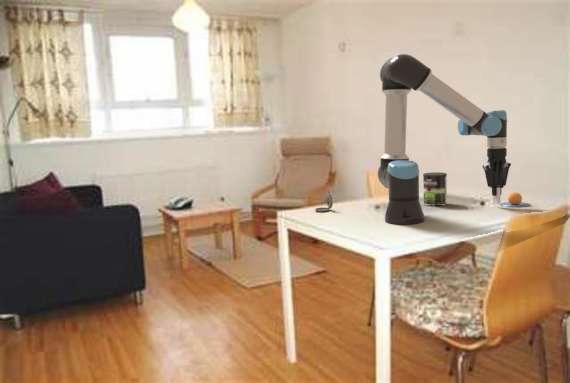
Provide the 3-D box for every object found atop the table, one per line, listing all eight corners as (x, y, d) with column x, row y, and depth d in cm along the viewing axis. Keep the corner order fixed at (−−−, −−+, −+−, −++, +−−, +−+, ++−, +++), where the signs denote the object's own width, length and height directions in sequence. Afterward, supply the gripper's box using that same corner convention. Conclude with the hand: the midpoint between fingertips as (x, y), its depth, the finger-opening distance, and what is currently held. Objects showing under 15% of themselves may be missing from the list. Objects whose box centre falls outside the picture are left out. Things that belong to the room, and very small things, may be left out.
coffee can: (439, 207, 217) (438, 175, 215) (419, 205, 224) (418, 174, 222) (451, 203, 223) (451, 172, 221) (431, 201, 231) (431, 171, 229)
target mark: (522, 208, 203) (522, 207, 203) (494, 205, 212) (494, 205, 212) (535, 204, 211) (535, 203, 211) (508, 201, 220) (508, 201, 220)
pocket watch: (312, 211, 224) (311, 190, 223) (324, 208, 230) (323, 187, 229) (326, 213, 219) (324, 191, 217) (337, 210, 224) (336, 188, 223)
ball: (527, 201, 209) (516, 205, 207) (518, 203, 214) (508, 207, 212) (521, 189, 209) (511, 193, 208) (513, 192, 215) (503, 196, 213)
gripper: (490, 149, 199) (490, 206, 203) (516, 146, 203) (515, 202, 207) (477, 148, 206) (477, 203, 210) (502, 146, 210) (502, 200, 214)
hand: (496, 203), depth 208 cm, fingers closed
